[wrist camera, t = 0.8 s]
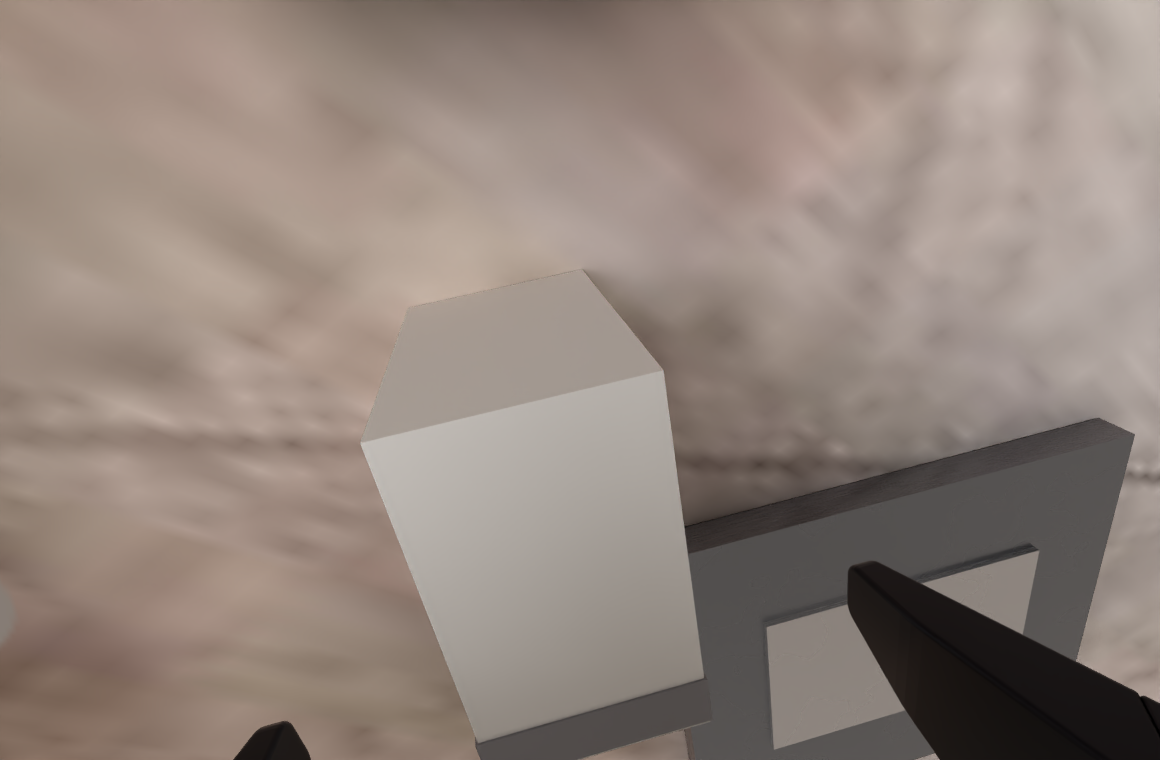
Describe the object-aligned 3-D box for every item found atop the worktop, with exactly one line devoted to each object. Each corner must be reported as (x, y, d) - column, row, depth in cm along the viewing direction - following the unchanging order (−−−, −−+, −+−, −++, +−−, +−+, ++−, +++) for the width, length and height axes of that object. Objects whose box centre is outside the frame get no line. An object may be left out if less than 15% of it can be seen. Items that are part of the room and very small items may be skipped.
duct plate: (1099, 418, 20) (1141, 437, 19) (1037, 689, 26) (1066, 718, 25) (653, 535, 19) (666, 565, 18) (694, 793, 25) (707, 829, 23)
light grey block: (583, 268, 15) (668, 370, 9) (628, 515, 18) (713, 722, 12) (406, 307, 15) (356, 445, 8) (484, 553, 18) (492, 787, 12)
